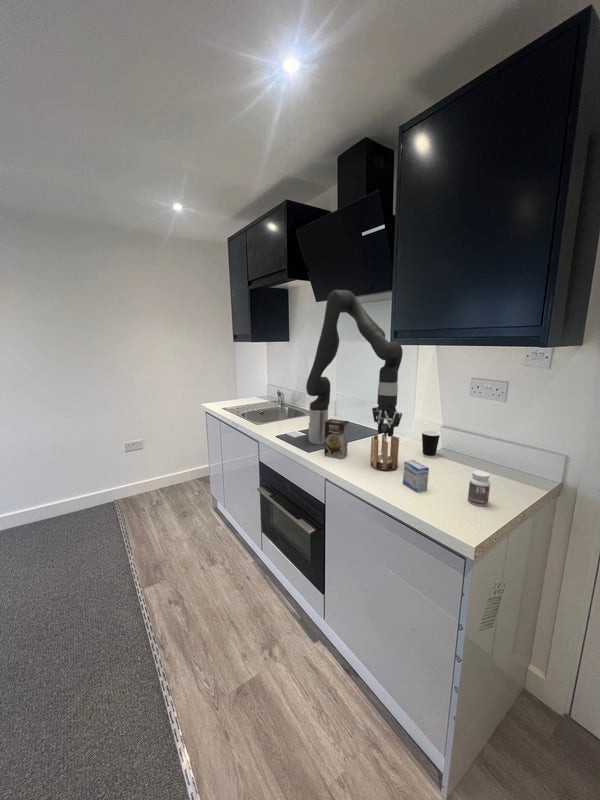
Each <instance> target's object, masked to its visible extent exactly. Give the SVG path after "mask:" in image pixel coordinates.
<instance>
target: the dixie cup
mask: <svg viewBox="0 0 600 800" xmlns="http://www.w3.org/2000/svg"><path fill="white" fill-rule="evenodd" d="M441 435H442V434H441V432H439V431H436V430H432V429H431V430H430V429H425V430H422V431H421V436H422V437H421V441H422V444H421V445H422V455H423V457H424V458H427V459H428V458H429V459H434V458H435V457H436V454H437V450H438V446H439V440H440V436H441Z"/></svg>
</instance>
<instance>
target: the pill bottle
mask: <svg viewBox="0 0 600 800" xmlns="http://www.w3.org/2000/svg"><path fill="white" fill-rule="evenodd" d="M471 474H472V477H471V478H470V479H469V482H468V483H469V485H468V492H467V493H468V495H467V496H468V497H467V501H468V502H469V503H470V504H472V505H474V506H478V507H485V506H488V504H489V498H490V497H489V496H490V489H491V482H490V473H488V472H486V471H484V470H473V471H472V472H471Z"/></svg>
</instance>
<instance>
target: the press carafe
mask: <svg viewBox="0 0 600 800" xmlns="http://www.w3.org/2000/svg"><path fill="white" fill-rule="evenodd" d="M381 434H382V435H381V449H380V450H381V451H380V452H381V453H380V455H383V458H382V464H380V463H378V455H379V442H380V441H379V435H378V434H374V435H373V436H371V442H370V443H371V444H370V460H369V461H370V467H371V468H372V469H374V470H376V471H380V472H381V471H382V472H394V471H395V470H397V468H398V466H399V465H398V462H399V461H398V460H399V444H400V437H398V436H394V435H393V436H391V437H390V453H389V452H388V451H389V441H386V442H383V440H384V433H381ZM388 453H389V455H388ZM387 456H390V457H392V460H391V464H387Z"/></svg>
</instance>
